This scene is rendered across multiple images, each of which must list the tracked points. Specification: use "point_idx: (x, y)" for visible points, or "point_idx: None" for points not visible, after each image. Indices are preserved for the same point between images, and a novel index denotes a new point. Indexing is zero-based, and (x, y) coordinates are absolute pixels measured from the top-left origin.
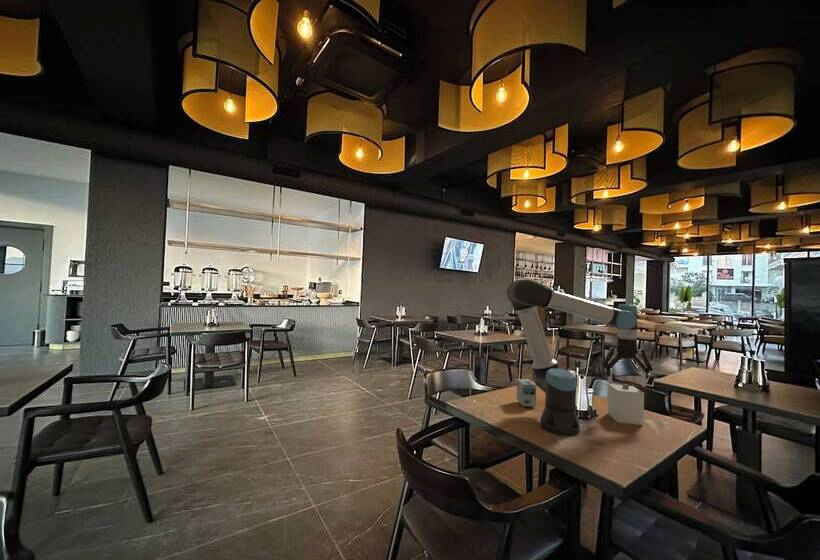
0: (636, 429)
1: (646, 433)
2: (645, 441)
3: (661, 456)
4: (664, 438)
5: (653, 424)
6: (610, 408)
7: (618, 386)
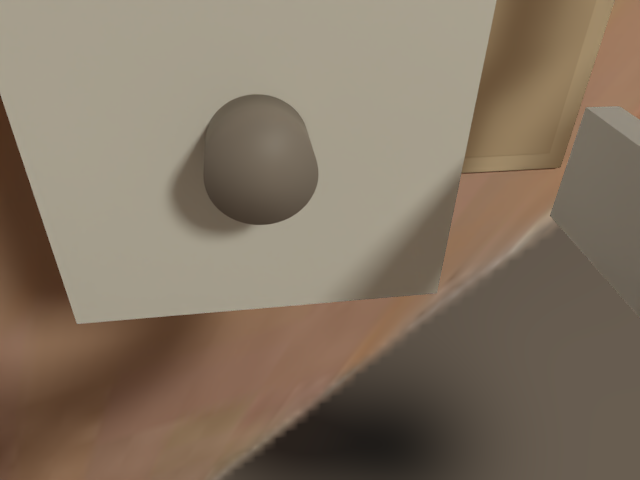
0: None
1: None
2: (233, 356)
3: (241, 453)
4: None
5: None
6: None
7: (148, 51)
